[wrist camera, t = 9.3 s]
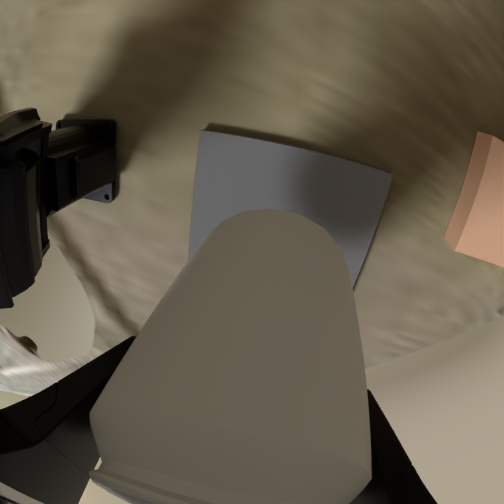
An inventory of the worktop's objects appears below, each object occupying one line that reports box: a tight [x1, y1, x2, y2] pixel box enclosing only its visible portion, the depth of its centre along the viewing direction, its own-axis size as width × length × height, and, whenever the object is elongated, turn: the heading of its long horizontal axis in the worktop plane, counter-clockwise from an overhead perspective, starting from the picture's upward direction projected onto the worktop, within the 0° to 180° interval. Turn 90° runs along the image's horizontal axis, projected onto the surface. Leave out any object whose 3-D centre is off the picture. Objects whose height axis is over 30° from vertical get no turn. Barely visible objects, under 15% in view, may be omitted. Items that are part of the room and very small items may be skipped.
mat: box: [188, 130, 394, 288], centre depth 19 cm, size 12×12×1 cm
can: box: [89, 208, 372, 504], centre depth 9 cm, size 8×8×12 cm
